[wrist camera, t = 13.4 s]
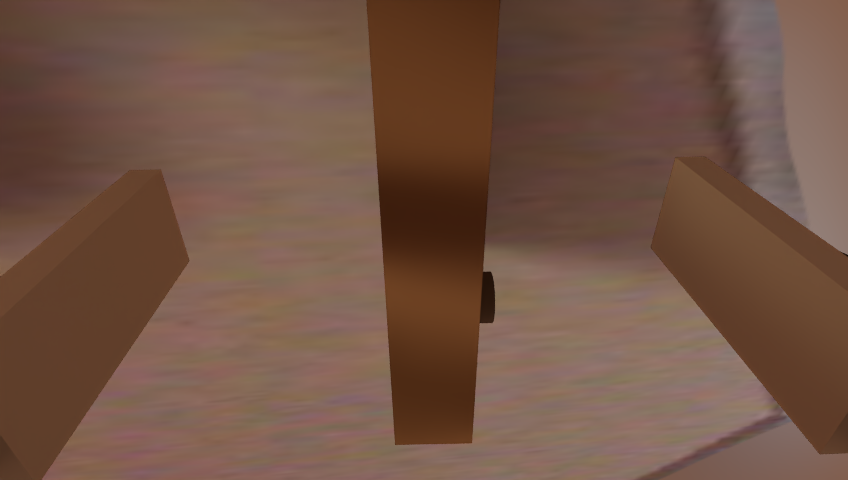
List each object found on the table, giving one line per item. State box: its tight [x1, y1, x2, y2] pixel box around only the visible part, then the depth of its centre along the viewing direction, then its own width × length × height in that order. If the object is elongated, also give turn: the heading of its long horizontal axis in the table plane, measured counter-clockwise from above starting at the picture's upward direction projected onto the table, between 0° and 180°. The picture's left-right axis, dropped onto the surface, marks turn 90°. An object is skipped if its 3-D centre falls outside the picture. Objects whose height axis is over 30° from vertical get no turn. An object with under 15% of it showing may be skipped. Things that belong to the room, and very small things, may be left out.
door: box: [367, 0, 500, 445], centre depth 20 cm, size 21×4×16 cm, turn 1°
